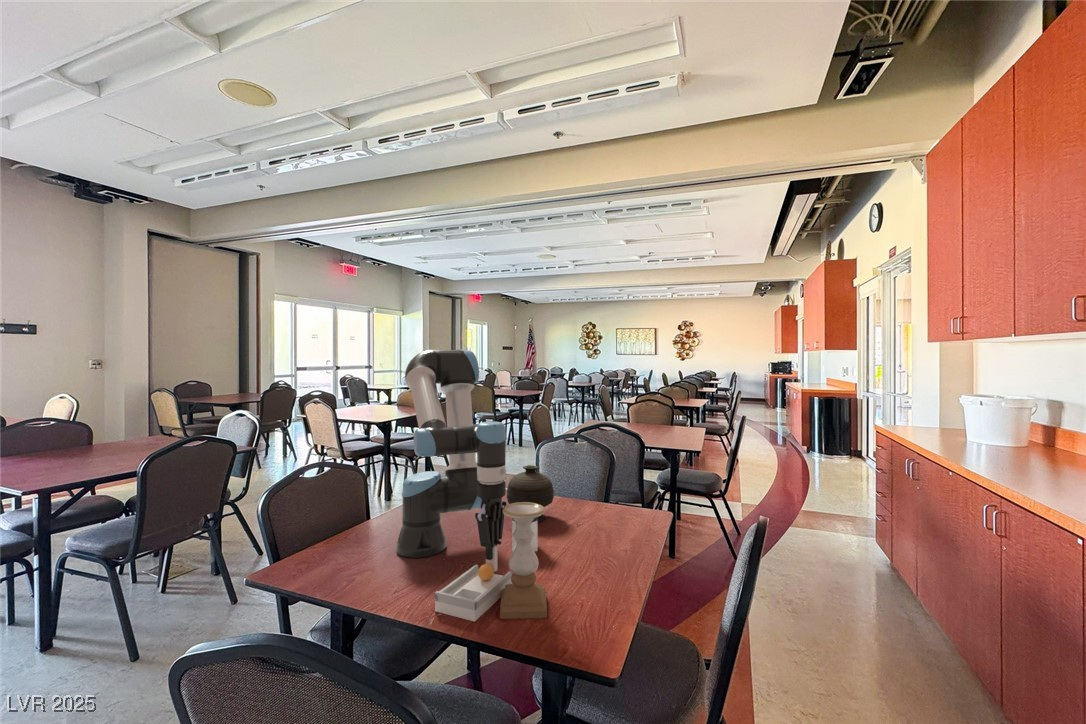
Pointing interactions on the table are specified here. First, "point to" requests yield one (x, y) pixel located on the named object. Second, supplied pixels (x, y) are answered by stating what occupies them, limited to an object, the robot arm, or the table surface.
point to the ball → (486, 572)
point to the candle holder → (523, 568)
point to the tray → (470, 594)
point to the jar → (534, 540)
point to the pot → (530, 488)
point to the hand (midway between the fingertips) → (491, 569)
